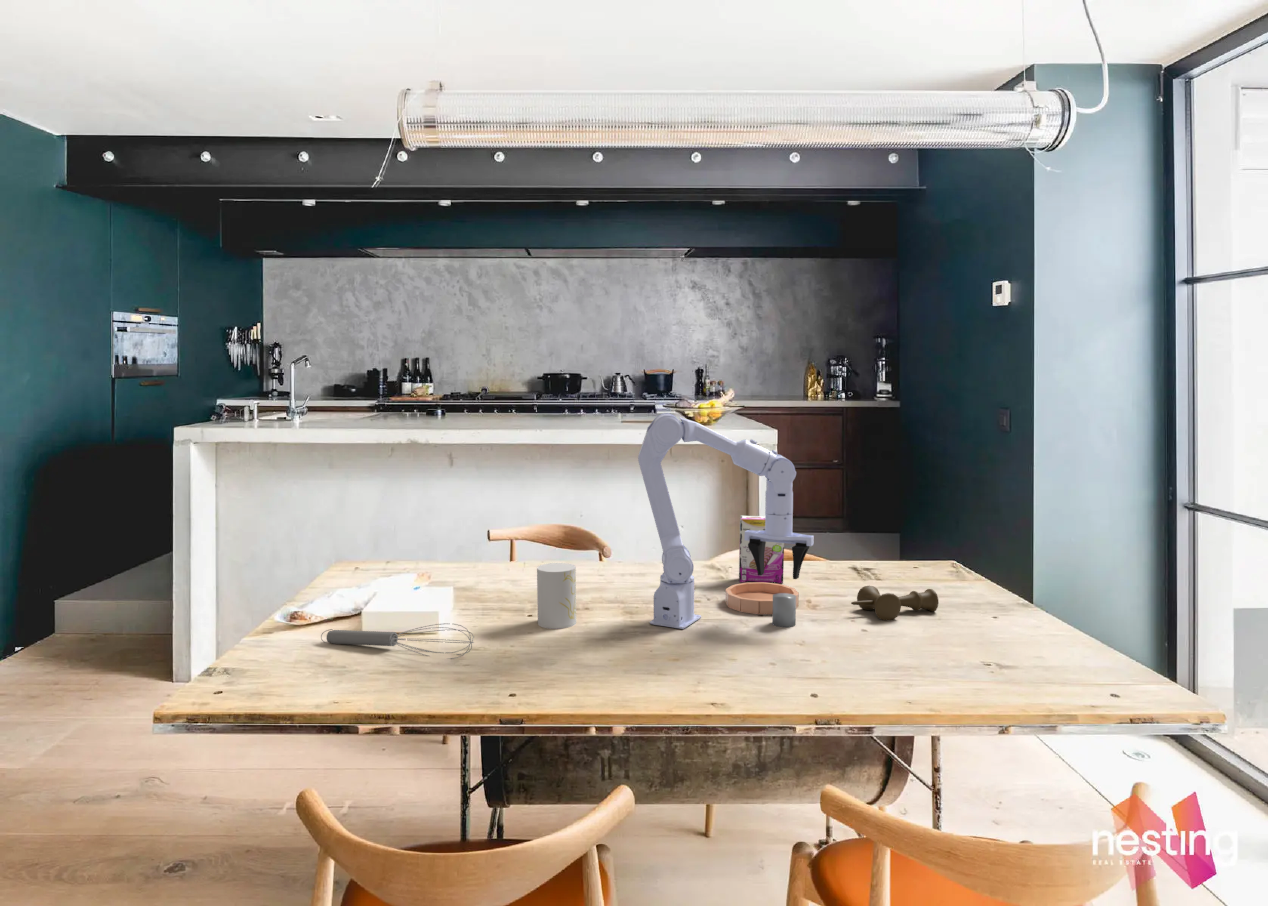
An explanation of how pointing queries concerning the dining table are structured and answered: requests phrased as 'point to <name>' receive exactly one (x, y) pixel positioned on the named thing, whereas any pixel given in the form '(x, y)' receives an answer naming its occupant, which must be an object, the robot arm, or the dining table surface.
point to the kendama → (894, 602)
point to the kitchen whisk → (383, 638)
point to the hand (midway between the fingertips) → (778, 576)
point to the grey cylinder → (784, 610)
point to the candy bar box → (771, 555)
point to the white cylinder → (556, 595)
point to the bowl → (756, 596)
